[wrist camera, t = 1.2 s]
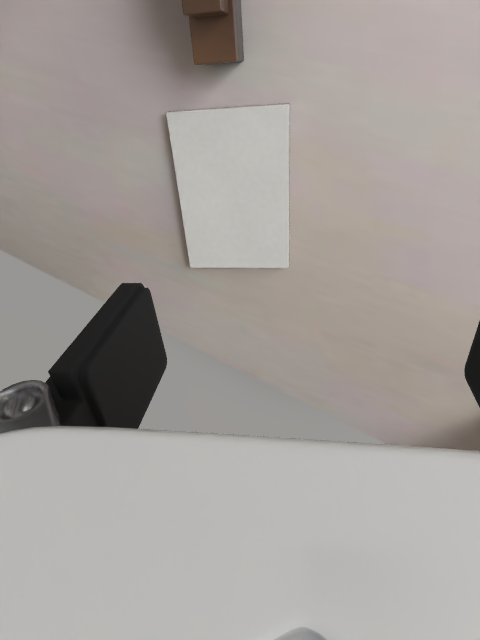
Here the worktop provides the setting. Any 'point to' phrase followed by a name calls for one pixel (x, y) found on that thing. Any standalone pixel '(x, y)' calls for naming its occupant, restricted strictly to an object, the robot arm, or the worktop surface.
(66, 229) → the worktop surface
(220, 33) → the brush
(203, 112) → the tile
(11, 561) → the robot arm
